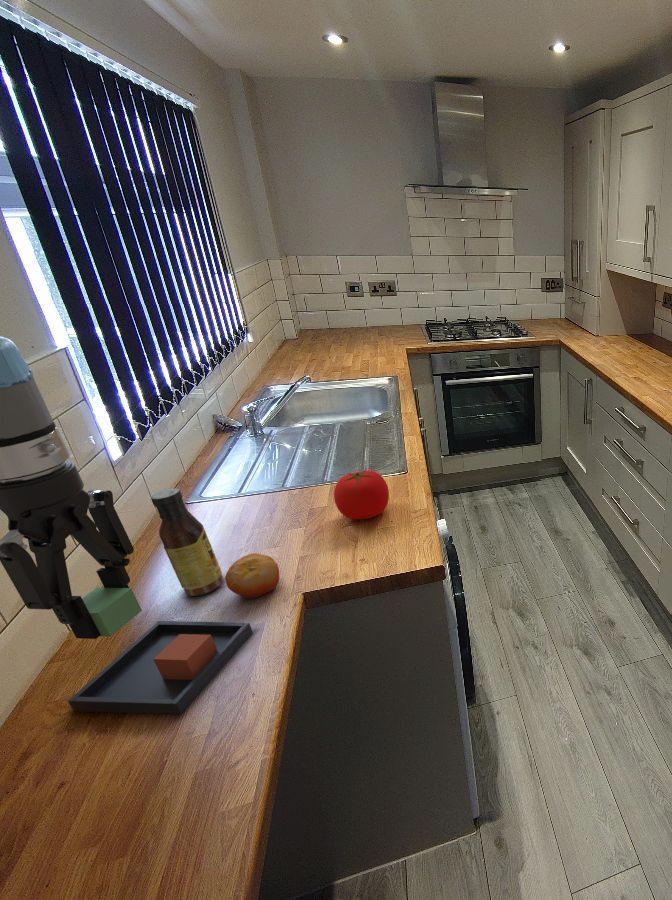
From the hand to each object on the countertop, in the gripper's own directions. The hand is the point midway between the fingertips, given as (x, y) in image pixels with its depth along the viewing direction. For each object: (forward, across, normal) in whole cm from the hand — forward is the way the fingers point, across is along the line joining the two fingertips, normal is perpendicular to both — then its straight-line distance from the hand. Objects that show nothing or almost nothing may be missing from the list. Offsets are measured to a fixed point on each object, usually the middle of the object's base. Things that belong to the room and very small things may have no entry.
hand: (108, 621), depth 72 cm
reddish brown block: (+12, +4, -5) cm, 14 cm away
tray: (+13, +4, -2) cm, 13 cm away
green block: (0, 0, 0) cm, 0 cm away
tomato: (+13, +49, -11) cm, 51 cm away
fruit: (+13, +22, -3) cm, 25 cm away
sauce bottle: (+13, +22, +8) cm, 27 cm away
